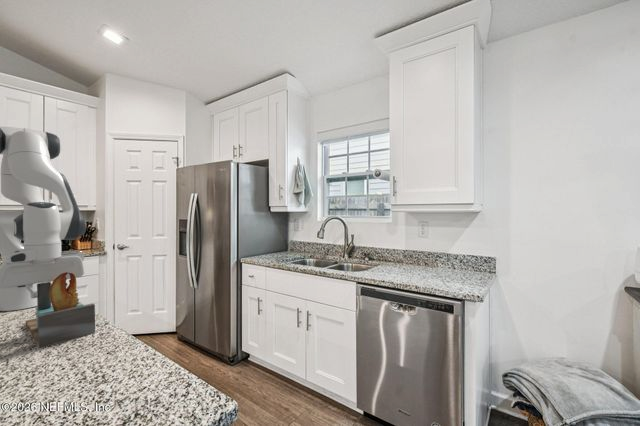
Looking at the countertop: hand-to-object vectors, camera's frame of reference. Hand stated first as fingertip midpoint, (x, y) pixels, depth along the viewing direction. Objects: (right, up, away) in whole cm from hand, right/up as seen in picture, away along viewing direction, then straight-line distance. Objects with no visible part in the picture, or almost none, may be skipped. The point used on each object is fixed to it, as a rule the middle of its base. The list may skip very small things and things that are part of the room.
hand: (44, 296), depth 94 cm
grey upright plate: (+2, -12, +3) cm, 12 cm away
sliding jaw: (+4, -10, +2) cm, 11 cm away
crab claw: (+8, -12, -2) cm, 15 cm away
